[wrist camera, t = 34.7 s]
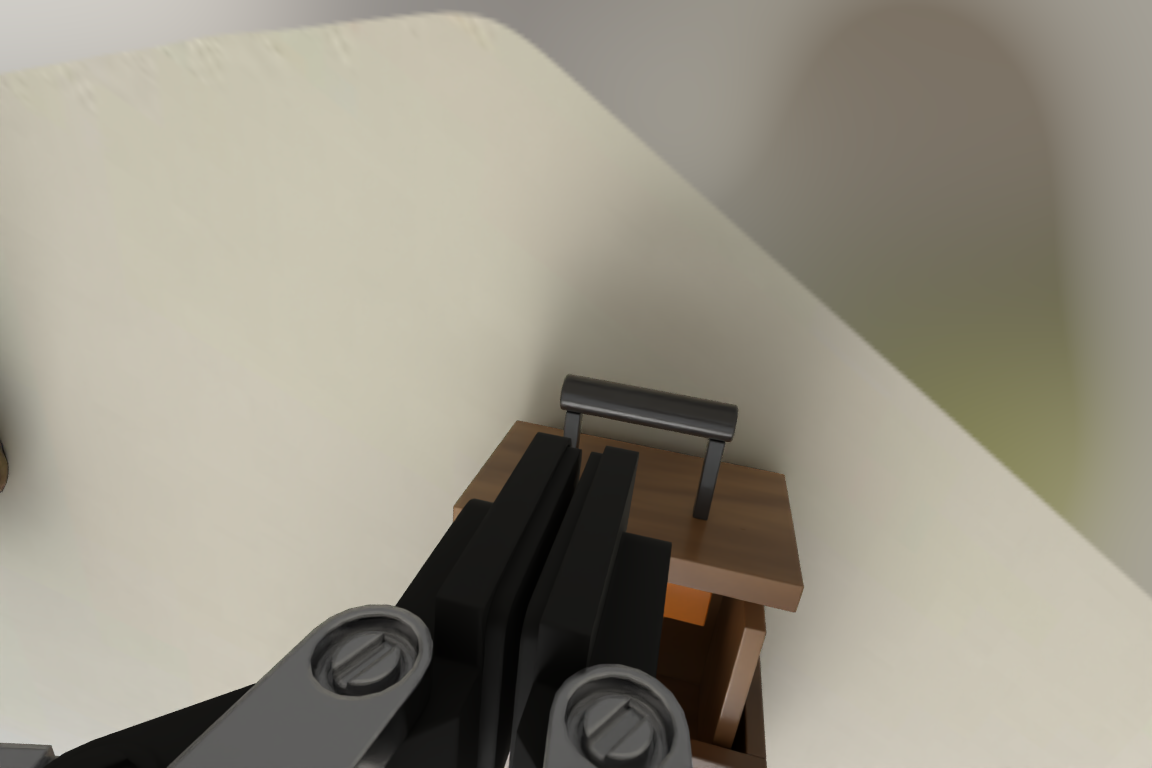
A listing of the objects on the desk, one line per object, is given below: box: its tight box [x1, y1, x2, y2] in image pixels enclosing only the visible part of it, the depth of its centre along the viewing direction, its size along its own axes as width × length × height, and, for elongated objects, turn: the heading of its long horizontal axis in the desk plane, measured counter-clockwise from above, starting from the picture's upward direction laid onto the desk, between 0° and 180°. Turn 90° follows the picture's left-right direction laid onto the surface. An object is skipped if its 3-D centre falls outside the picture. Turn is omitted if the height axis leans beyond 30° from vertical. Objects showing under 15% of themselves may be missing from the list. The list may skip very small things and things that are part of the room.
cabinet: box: [504, 655, 767, 768], centre depth 32 cm, size 15×14×10 cm
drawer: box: [453, 374, 804, 750], centre depth 27 cm, size 18×13×8 cm
